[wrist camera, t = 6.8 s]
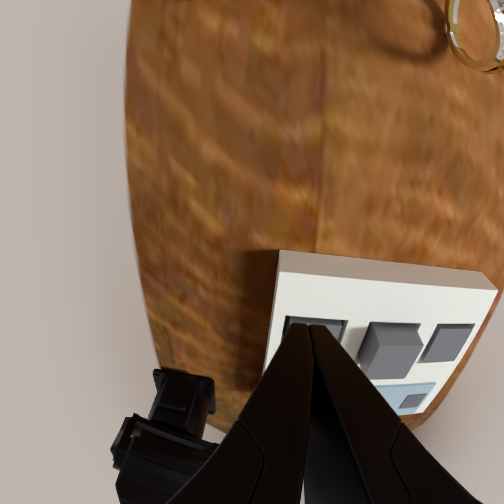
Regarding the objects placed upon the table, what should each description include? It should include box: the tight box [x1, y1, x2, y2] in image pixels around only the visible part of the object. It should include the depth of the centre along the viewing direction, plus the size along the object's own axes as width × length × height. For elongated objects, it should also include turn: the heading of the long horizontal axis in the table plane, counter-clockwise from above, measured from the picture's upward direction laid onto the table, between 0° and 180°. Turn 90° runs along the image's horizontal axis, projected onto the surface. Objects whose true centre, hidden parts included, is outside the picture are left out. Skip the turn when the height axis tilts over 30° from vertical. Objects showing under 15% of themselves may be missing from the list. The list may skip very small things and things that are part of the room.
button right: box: [421, 324, 472, 361], centre depth 21 cm, size 4×4×3 cm
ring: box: [443, 0, 504, 74], centre depth 8 cm, size 7×3×8 cm, turn 0°
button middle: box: [357, 321, 424, 380], centre depth 19 cm, size 4×4×3 cm
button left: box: [283, 315, 342, 340], centre depth 21 cm, size 4×4×3 cm
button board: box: [262, 250, 498, 415], centre depth 22 cm, size 16×18×3 cm
